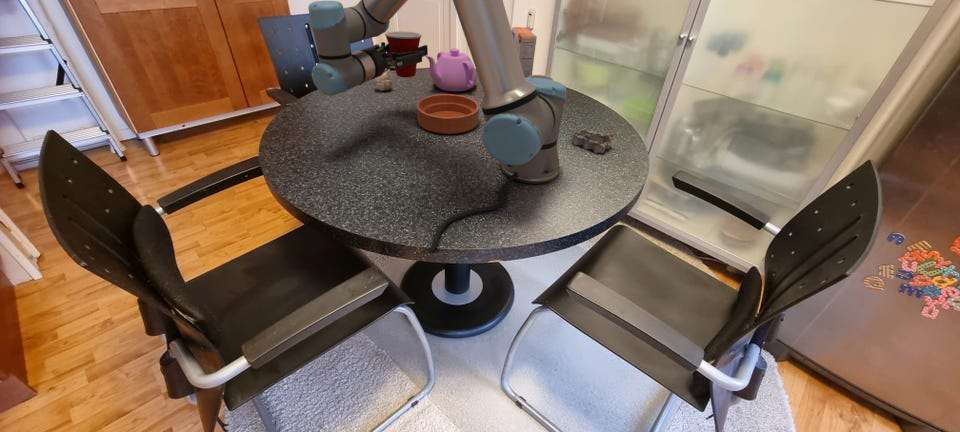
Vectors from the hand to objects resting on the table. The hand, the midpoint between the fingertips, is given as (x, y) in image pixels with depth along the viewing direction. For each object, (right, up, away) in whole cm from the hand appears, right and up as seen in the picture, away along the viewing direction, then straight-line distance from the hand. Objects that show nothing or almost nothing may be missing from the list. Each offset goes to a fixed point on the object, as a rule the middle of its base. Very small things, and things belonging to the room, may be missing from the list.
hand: (413, 47), depth 114 cm
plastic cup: (-2, -8, +1) cm, 9 cm away
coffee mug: (+41, -12, +20) cm, 47 cm away
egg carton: (+54, -31, -3) cm, 62 cm away
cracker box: (+36, -1, +33) cm, 49 cm away
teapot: (+9, -2, +30) cm, 31 cm away
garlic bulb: (-16, -5, +25) cm, 30 cm away
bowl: (+10, -22, +5) cm, 25 cm away
